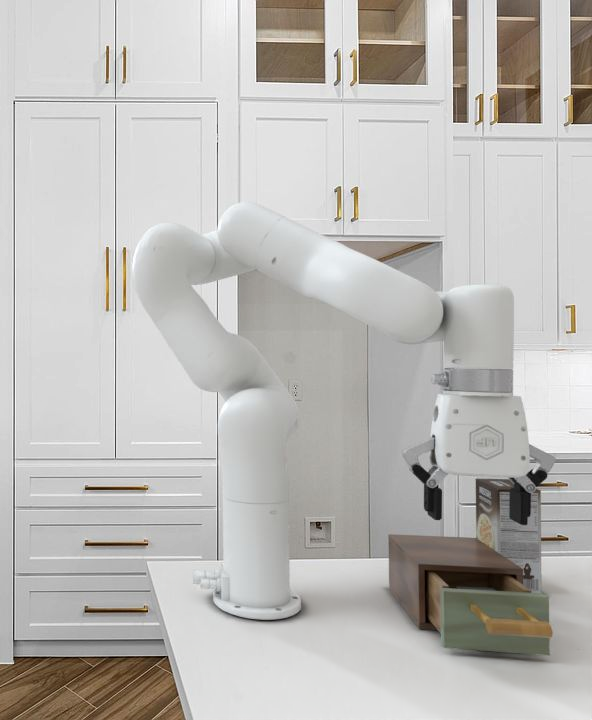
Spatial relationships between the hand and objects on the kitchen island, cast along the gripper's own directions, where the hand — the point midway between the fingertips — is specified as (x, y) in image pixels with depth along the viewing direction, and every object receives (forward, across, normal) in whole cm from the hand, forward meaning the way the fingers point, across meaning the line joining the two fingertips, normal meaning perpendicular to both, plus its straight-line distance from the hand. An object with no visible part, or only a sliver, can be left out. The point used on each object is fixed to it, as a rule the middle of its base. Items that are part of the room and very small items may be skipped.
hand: (475, 519), depth 75 cm
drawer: (+15, +1, -1) cm, 15 cm away
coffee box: (+16, +14, +24) cm, 31 cm away
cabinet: (+16, +1, +10) cm, 19 cm away
